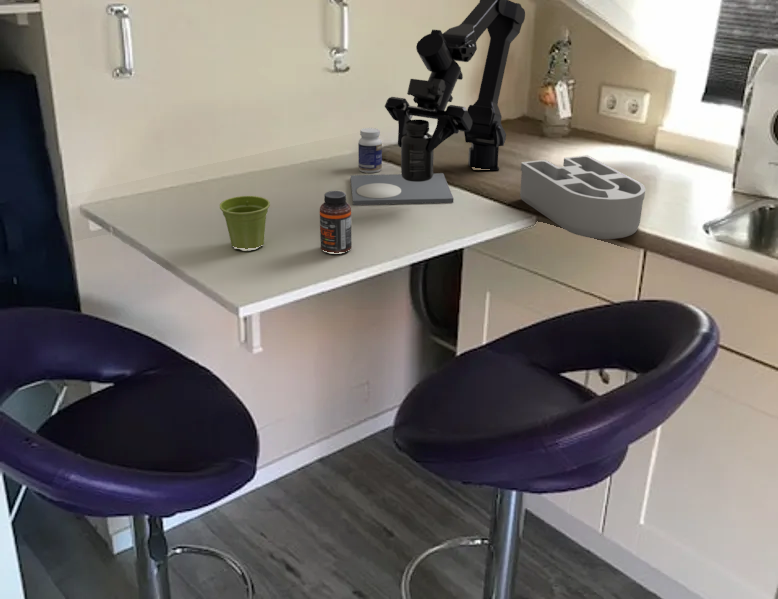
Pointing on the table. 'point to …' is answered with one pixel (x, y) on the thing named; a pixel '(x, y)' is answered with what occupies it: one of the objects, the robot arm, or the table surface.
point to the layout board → (399, 190)
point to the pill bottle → (370, 150)
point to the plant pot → (245, 220)
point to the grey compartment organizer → (584, 196)
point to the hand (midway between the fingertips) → (413, 148)
